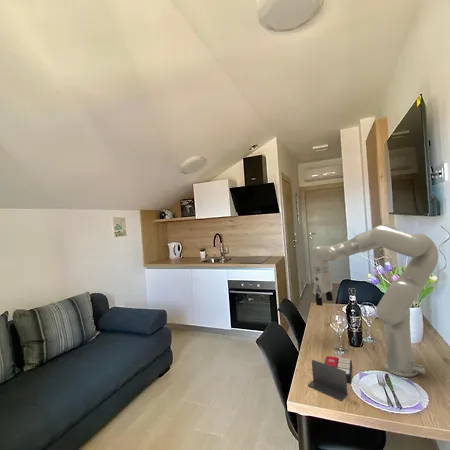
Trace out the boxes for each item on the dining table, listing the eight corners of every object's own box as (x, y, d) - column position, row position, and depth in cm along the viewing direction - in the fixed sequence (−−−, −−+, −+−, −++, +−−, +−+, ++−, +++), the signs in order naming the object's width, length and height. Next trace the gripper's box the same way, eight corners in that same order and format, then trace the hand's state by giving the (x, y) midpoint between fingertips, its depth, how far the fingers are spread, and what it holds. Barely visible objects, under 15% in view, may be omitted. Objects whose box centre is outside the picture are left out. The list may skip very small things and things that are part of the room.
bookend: (347, 395, 104) (345, 371, 104) (341, 401, 101) (339, 376, 101) (314, 381, 115) (313, 359, 115) (308, 386, 112) (306, 364, 112)
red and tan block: (351, 358, 125) (350, 373, 111) (352, 367, 125) (351, 384, 111) (326, 354, 130) (321, 369, 116) (326, 364, 129) (322, 379, 116)
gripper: (318, 273, 134) (322, 308, 133) (336, 267, 145) (340, 300, 144) (305, 272, 139) (308, 305, 139) (323, 266, 150) (326, 298, 150)
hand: (324, 302), depth 142 cm, fingers open, 9 cm apart
